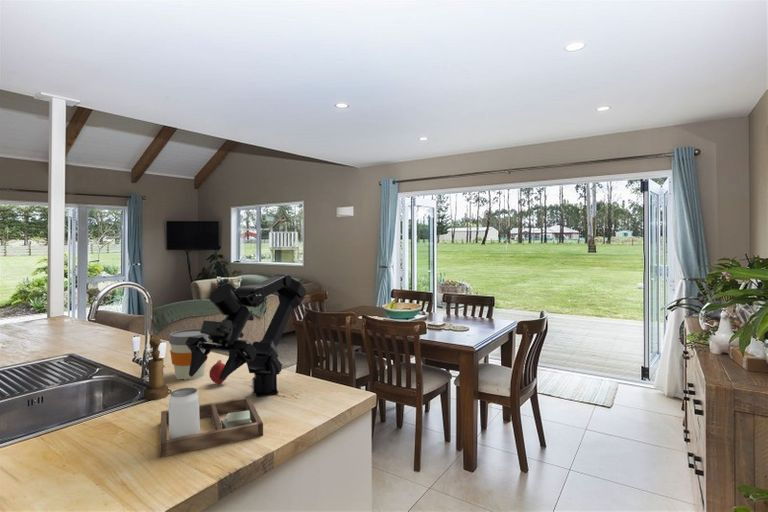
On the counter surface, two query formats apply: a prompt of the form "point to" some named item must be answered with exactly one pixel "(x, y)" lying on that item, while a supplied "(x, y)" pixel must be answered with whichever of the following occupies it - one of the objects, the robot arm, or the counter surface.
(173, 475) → the counter surface
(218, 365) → the red pomegranate
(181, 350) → the reusable coffee cup
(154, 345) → the wooden pepper mill
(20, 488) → the counter surface
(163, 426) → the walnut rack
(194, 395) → the can
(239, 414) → the offcut stack
